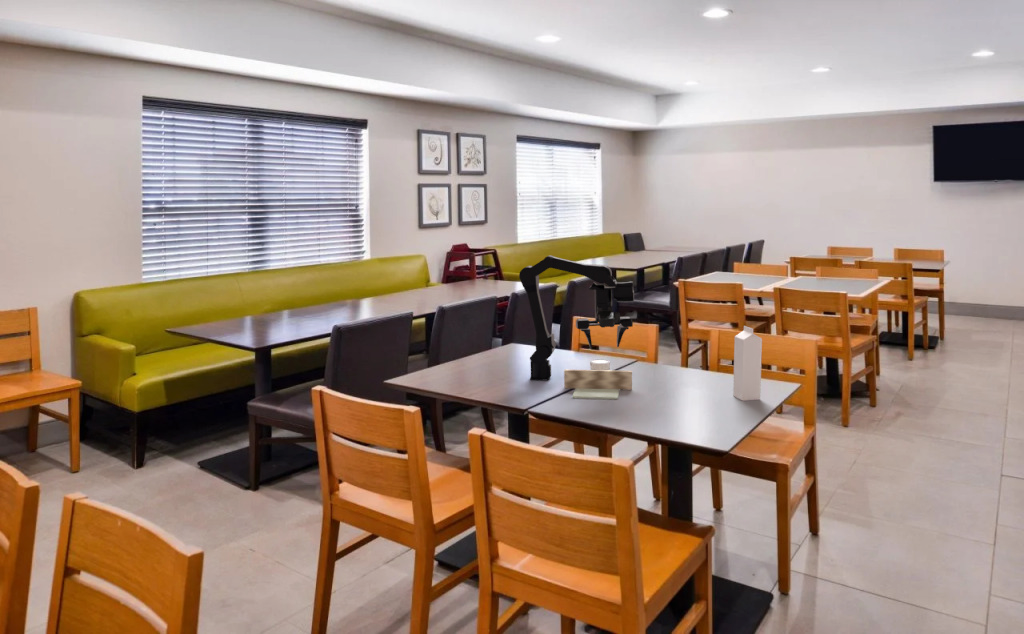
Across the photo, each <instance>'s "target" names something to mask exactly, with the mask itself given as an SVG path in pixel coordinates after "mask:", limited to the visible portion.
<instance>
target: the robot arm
mask: <svg viewBox="0 0 1024 634" xmlns="http://www.w3.org/2000/svg"><path fill="white" fill-rule="evenodd" d="M548 269H555V270H558V271H563V272H567V273H572V274H576V275H581V276H583V277H585V278H587V279H589V280H591V281H593V282H592V284H591V285H590V286H589V287H588V290H591V291H592V290H593V291H594V315H595V316H594V317H595V319H594V320H589V319H588V318H587V317H585V318H577V319H576V320H575V328H576V329H577V330H580V331H581V332H583V333H584V335H585V337H586V340H587V343H588V346H589V349H593V343H592V336H591V329H590V327H596V326H597V327H598V326H599V327H601V328H607V327H608V328H614V327H615V326H616V327H617V328H616V329H617V330H616V348H620V344H621V341H622V338H623V335H624V333H625V332H626V331H627V330H629V329H630V328H631V327H632V328H633V325H634V323H633V322H634V321H633V318H631V317H630V316H621V313H620V311H613V300H615V301H616V302H617V303H634V302H635V290H634V281H627V282H618V281H617V279H616V278H615V277H614V276H613V275H612V274H613V272H612V269H611V268H610V266H609V265H607V264H596V263H595V264H589V263H587V264H586V263H582V262H577V261H574V260H569V259H565V258H561V257H556V256H554V255H547V256H545V257H544V258H543V259H542V260H541V261H539V262H537V263H536V264H533V265H527V266H526V267H524V268H522V269H521V270H520V272H519V275H518V276H519V280H520V283H521V285H522V287H523V288H524V291H525V293H526V295H527V299H528V303H529V306H530V307H529V309H530V312H531V316H532V321H533V322H532V323H533V327H534V331H535V351H534V352H533V353H532V354H531V355H530V357H529V361H530V378H529V380H530V381H549V380H550V378H551V377H552V364H551V363H550V359H549V358H550V357H551V356H552V355H553V353H554V351H555V349H556V346H557V342H555V334H554V333H552V334H551V333H550V332H549V330H548V327H547V322H546V318H545V314H544V309H543V304H542V300H541V294H540V291H539V290H540V274H543V273H544V272H545V271H547V270H548ZM598 283H599V284H598ZM606 285H607V286H606ZM612 290H613V291H612ZM612 298H613V299H612Z"/></svg>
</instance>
